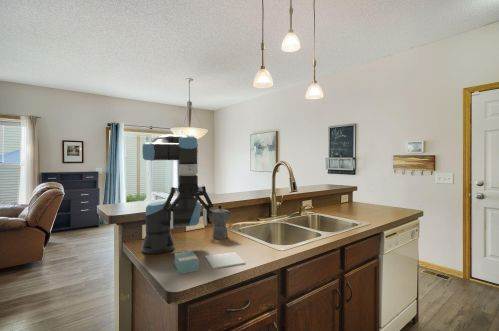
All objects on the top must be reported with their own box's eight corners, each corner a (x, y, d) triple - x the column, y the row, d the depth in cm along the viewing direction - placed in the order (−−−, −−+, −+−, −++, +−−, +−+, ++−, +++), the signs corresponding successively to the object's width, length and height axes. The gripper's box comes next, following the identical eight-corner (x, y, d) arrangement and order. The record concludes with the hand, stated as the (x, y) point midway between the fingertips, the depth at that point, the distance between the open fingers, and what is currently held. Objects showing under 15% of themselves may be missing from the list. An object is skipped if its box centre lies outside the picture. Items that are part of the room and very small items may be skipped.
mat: (205, 257, 121) (205, 256, 121) (234, 253, 126) (234, 251, 126) (213, 269, 108) (213, 267, 108) (245, 263, 113) (245, 262, 113)
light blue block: (174, 265, 112) (174, 252, 112) (192, 262, 116) (192, 250, 116) (179, 274, 103) (179, 261, 103) (198, 270, 107) (198, 258, 107)
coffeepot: (232, 234, 156) (232, 204, 156) (229, 239, 147) (229, 207, 147) (207, 233, 158) (207, 203, 158) (202, 238, 149) (202, 206, 149)
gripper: (157, 176, 100) (157, 232, 101) (220, 174, 111) (220, 225, 111) (155, 175, 107) (155, 227, 108) (214, 173, 118) (215, 221, 118)
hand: (188, 226), depth 109 cm, fingers open, 13 cm apart
